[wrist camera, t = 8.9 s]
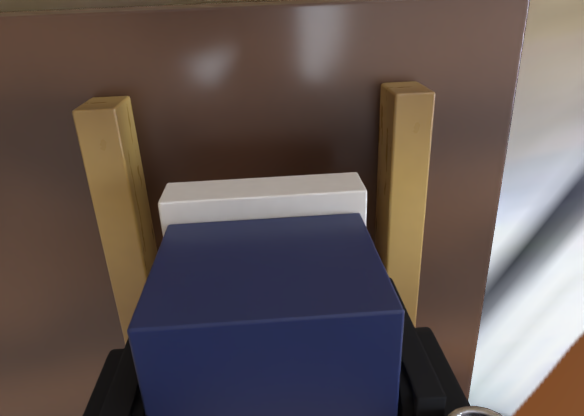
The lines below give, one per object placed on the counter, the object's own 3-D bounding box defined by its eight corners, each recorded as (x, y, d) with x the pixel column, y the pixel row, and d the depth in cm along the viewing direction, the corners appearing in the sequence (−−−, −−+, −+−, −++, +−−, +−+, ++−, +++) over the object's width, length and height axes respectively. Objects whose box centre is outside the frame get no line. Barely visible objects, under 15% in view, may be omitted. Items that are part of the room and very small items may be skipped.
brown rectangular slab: (-309, 25, 15) (-603, 44, 10) (468, -8, 16) (567, -7, 11) (-90, 443, 22) (-191, 575, 17) (425, 402, 23) (471, 516, 18)
